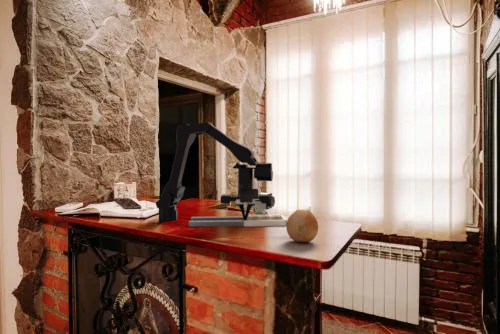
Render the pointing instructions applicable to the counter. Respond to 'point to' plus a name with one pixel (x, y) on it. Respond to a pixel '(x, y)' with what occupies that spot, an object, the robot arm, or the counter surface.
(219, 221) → the slot rail
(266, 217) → the block
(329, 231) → the counter surface
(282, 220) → the tray
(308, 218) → the onion
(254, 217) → the block
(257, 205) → the pneumatic valve
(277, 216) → the block
